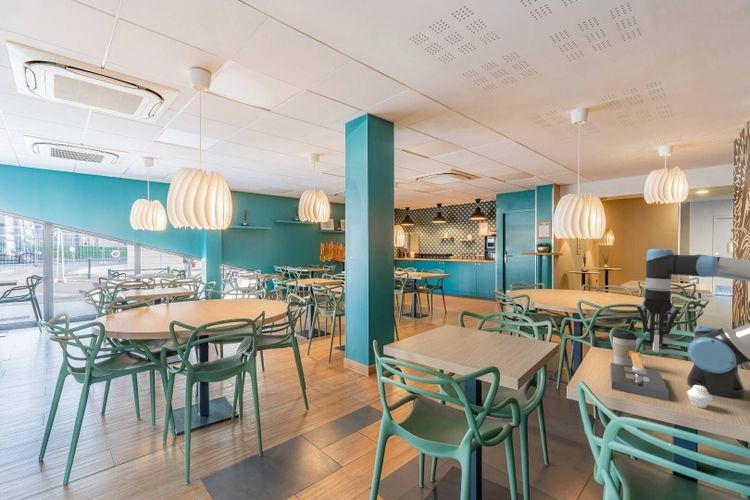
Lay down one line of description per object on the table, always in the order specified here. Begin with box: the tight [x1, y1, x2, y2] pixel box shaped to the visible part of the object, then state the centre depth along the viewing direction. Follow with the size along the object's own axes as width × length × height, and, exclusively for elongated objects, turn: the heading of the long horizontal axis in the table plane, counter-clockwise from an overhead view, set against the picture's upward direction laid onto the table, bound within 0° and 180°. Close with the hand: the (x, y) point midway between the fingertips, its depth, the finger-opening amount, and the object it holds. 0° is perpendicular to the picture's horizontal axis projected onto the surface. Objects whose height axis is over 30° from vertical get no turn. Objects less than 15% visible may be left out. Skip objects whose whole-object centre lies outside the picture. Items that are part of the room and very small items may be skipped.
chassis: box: [610, 362, 670, 401], centre depth 131 cm, size 16×24×7 cm, turn 146°
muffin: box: [686, 385, 713, 409], centre depth 113 cm, size 6×6×7 cm
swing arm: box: [629, 351, 647, 374], centre depth 132 cm, size 4×24×2 cm, turn 146°
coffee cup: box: [611, 330, 638, 366], centre depth 152 cm, size 9×9×15 cm
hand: (655, 350), depth 130 cm, fingers closed
